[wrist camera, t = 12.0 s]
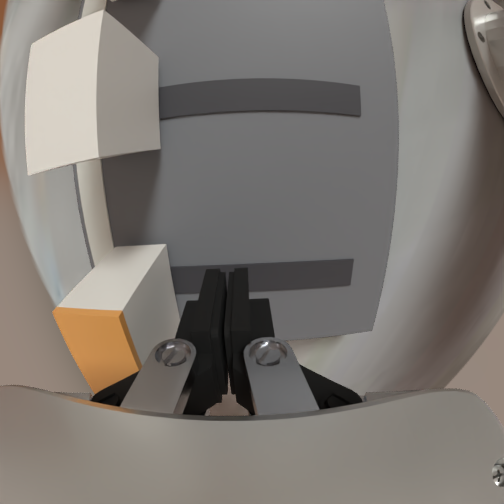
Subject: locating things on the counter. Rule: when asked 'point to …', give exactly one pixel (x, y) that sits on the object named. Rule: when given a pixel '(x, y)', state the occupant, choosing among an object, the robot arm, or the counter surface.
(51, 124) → the handle mid
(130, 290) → the handle
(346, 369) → the counter surface
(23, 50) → the counter surface
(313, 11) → the panel
